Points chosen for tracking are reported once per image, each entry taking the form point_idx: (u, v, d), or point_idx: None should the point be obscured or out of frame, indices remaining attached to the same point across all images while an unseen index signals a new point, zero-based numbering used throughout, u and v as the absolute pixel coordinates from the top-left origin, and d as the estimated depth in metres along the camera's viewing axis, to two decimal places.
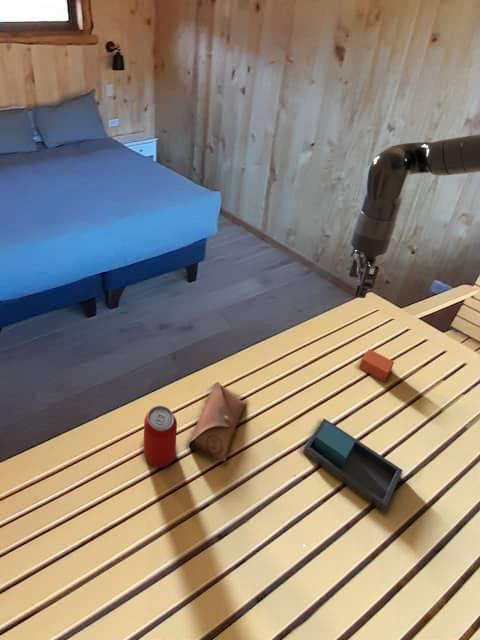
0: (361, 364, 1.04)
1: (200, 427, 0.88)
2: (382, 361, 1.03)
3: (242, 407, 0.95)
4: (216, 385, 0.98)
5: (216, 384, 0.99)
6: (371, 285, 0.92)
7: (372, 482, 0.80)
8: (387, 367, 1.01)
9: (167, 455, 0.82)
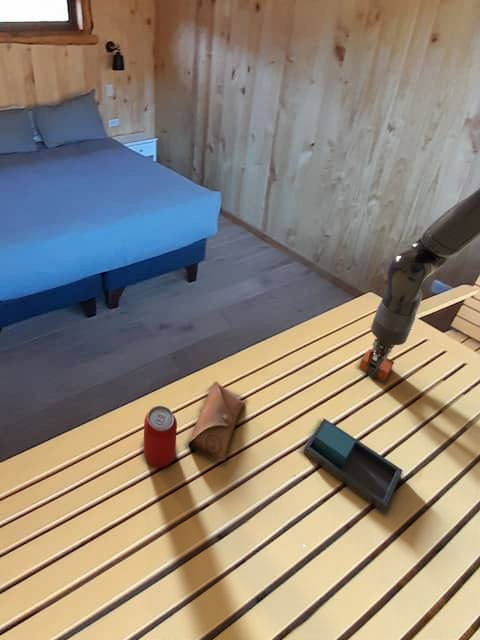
0: (361, 364, 1.04)
1: (199, 427, 0.88)
2: None
3: (241, 406, 0.95)
4: (215, 384, 0.98)
5: (215, 383, 0.99)
6: (375, 368, 0.98)
7: (372, 482, 0.80)
8: (387, 367, 1.01)
9: (167, 455, 0.82)
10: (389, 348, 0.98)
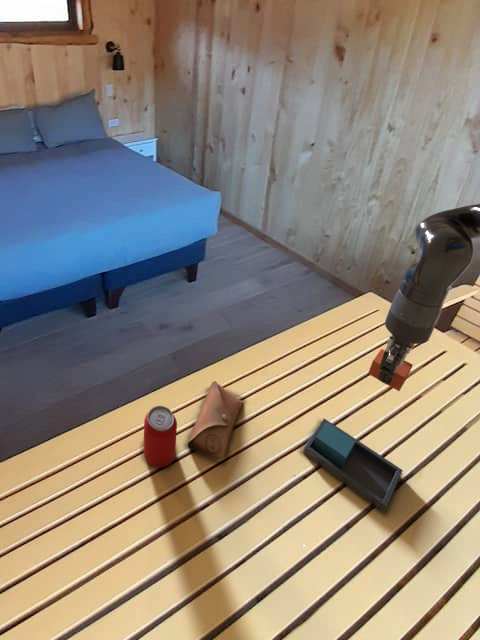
0: (372, 367, 0.85)
1: (198, 427, 0.88)
2: None
3: (239, 405, 0.95)
4: (213, 384, 0.98)
5: (213, 383, 0.99)
6: (390, 373, 0.79)
7: (372, 482, 0.80)
8: (404, 371, 0.82)
9: (167, 455, 0.82)
10: (408, 348, 0.79)
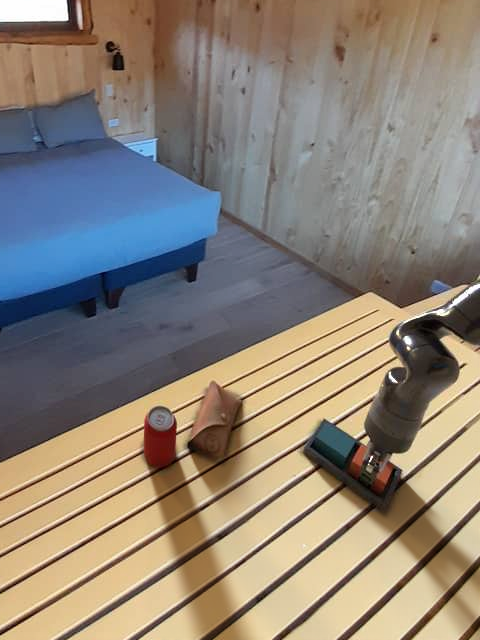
0: (351, 467, 0.80)
1: (197, 426, 0.88)
2: None
3: (238, 405, 0.95)
4: (212, 384, 0.98)
5: (212, 383, 0.99)
6: (370, 481, 0.74)
7: None
8: (385, 474, 0.77)
9: (167, 455, 0.82)
10: (388, 454, 0.74)
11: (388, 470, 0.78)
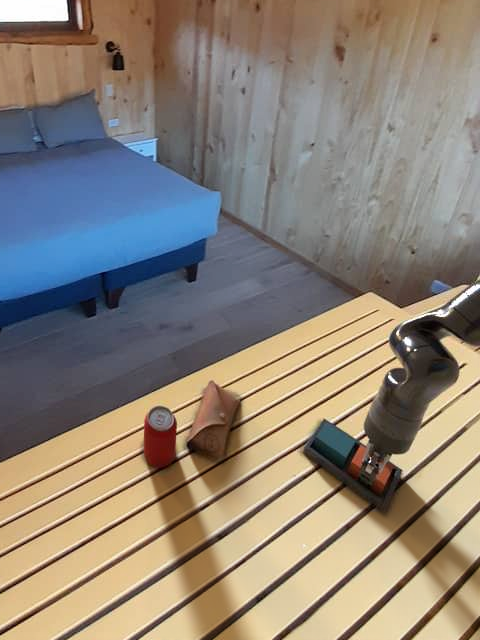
0: (351, 467, 0.80)
1: (196, 426, 0.88)
2: None
3: (237, 404, 0.95)
4: (210, 383, 0.99)
5: (210, 382, 0.99)
6: (369, 482, 0.74)
7: None
8: (384, 475, 0.77)
9: (167, 455, 0.82)
10: (387, 455, 0.74)
11: (387, 471, 0.78)
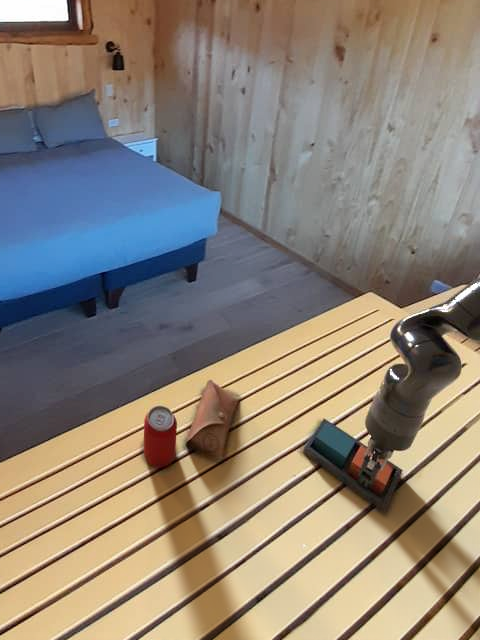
0: (351, 468, 0.80)
1: (196, 426, 0.88)
2: None
3: (235, 403, 0.96)
4: (209, 383, 0.99)
5: (209, 382, 0.99)
6: (370, 480, 0.73)
7: None
8: (385, 475, 0.77)
9: (167, 455, 0.82)
10: (389, 452, 0.74)
11: (388, 471, 0.78)
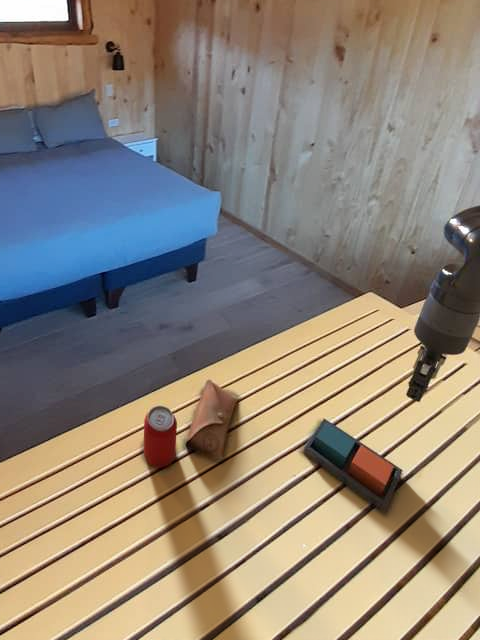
0: (351, 468, 0.80)
1: (195, 426, 0.88)
2: (378, 466, 0.79)
3: (234, 403, 0.96)
4: (208, 382, 0.99)
5: (208, 381, 0.99)
6: (423, 388, 0.69)
7: None
8: (385, 475, 0.77)
9: (167, 455, 0.82)
10: (442, 359, 0.70)
11: (388, 471, 0.78)
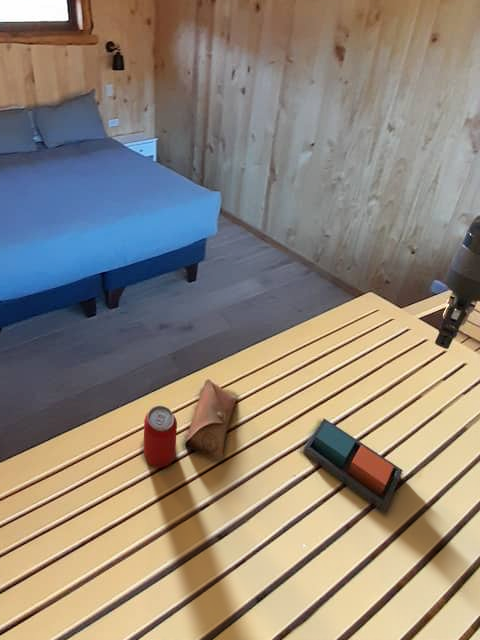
0: (351, 468, 0.80)
1: (195, 426, 0.88)
2: (378, 466, 0.79)
3: (234, 402, 0.96)
4: (207, 382, 0.99)
5: (207, 381, 0.99)
6: (453, 333, 0.74)
7: None
8: (385, 475, 0.77)
9: (167, 455, 0.82)
10: (471, 306, 0.75)
11: (388, 471, 0.78)
